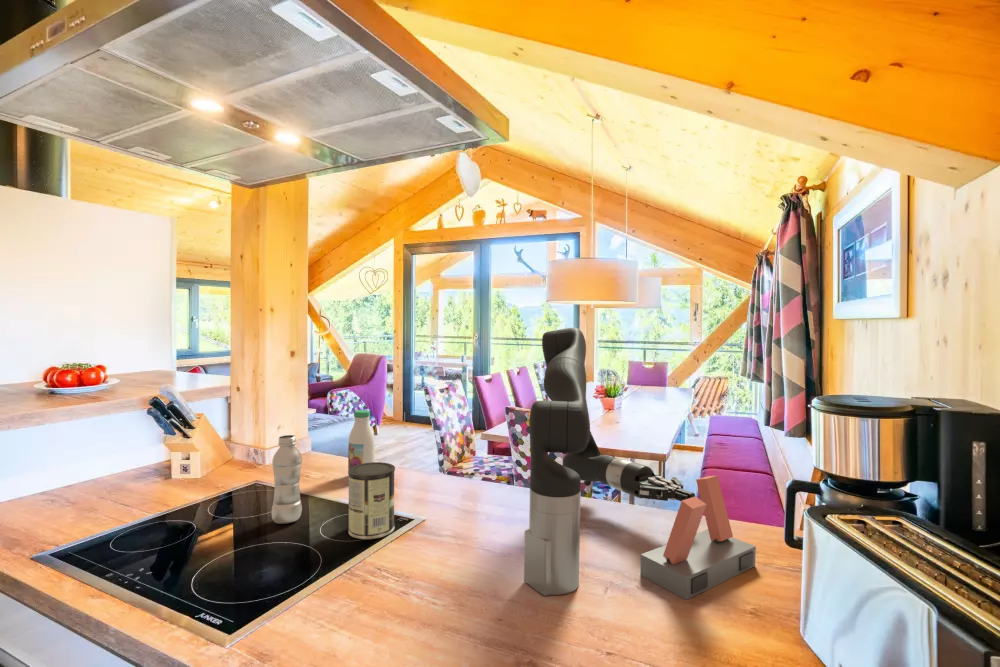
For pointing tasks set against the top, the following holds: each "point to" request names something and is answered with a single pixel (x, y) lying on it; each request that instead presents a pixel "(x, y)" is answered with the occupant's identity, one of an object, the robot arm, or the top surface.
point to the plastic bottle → (286, 481)
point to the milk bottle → (361, 440)
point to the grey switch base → (699, 565)
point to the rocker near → (684, 530)
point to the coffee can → (371, 500)
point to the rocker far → (714, 508)
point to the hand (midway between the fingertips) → (693, 498)
